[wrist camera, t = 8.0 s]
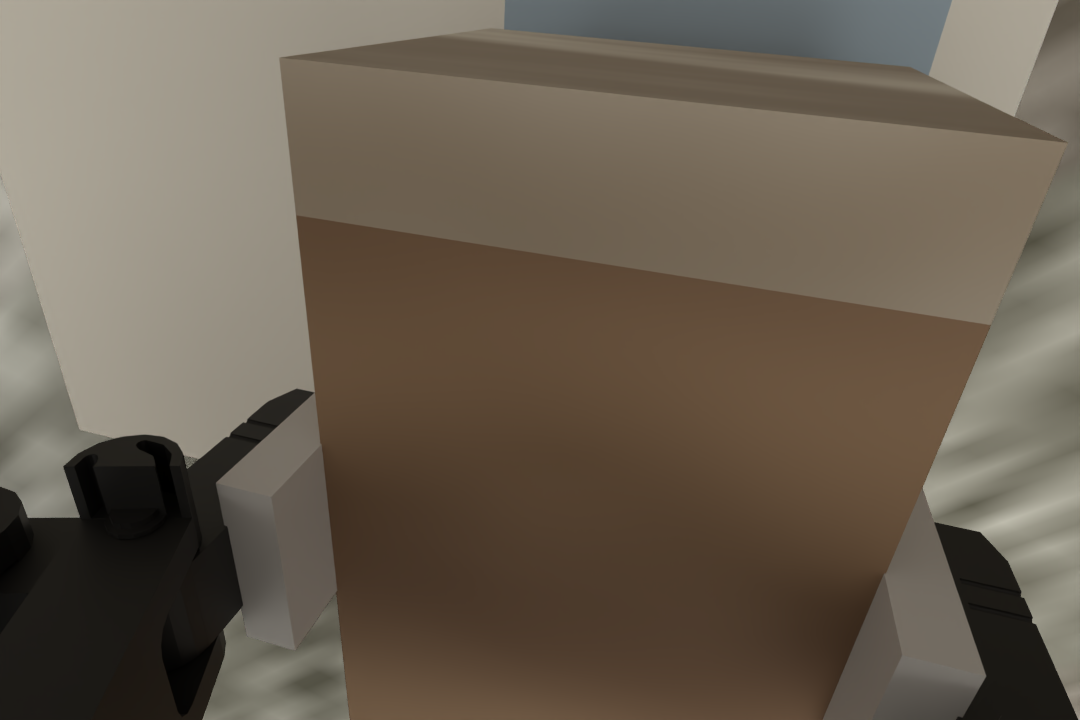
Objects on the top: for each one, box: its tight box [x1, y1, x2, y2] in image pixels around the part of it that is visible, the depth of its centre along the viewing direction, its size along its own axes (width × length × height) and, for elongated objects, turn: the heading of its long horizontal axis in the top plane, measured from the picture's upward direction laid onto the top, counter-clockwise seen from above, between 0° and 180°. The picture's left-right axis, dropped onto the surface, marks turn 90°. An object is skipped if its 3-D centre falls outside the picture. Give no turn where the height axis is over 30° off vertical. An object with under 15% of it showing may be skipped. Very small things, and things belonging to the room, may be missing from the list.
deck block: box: [279, 28, 1068, 720], centre depth 12 cm, size 12×7×6 cm, turn 177°
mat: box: [0, 0, 1059, 459], centre depth 21 cm, size 30×22×1 cm
